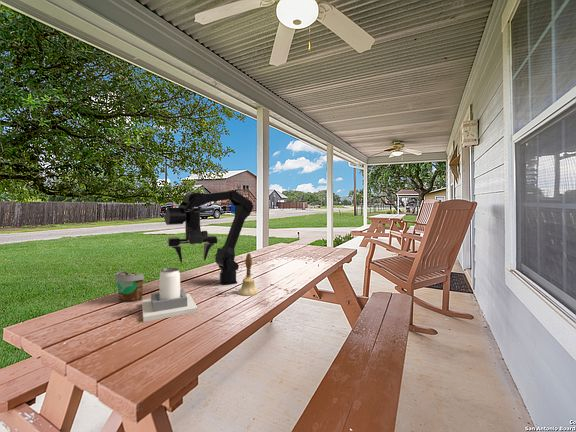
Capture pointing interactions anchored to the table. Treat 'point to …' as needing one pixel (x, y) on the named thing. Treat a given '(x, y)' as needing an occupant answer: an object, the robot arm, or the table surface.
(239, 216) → the robot arm
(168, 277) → the can
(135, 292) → the food container
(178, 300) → the socket board
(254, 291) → the hand bell
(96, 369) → the table surface
